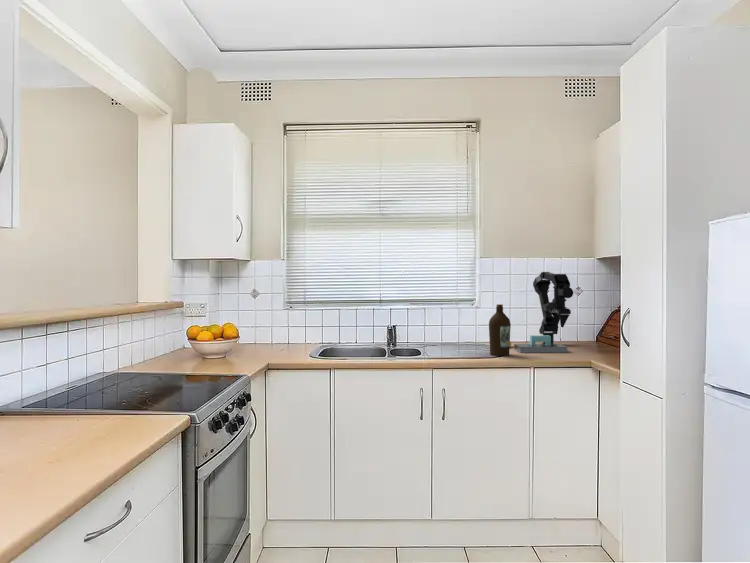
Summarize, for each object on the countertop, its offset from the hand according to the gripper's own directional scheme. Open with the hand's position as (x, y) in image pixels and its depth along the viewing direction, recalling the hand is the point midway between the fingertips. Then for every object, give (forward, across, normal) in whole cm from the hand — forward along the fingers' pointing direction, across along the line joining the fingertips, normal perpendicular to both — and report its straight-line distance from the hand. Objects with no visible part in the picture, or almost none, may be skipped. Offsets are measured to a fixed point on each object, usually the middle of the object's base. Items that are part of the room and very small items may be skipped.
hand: (559, 326), depth 304 cm
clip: (+12, +10, -13) cm, 20 cm away
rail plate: (+12, +10, -13) cm, 20 cm away
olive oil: (+12, +23, -37) cm, 45 cm away
